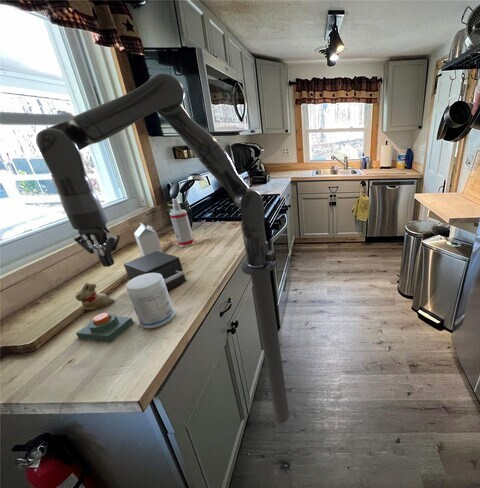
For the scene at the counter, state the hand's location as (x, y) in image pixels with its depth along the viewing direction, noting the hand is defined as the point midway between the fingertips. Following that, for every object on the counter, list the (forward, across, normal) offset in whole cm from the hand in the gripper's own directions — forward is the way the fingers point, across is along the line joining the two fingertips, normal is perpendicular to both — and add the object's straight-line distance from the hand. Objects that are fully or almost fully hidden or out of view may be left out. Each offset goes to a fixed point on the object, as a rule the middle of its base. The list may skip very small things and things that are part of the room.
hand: (109, 265), depth 77 cm
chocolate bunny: (+19, +17, -4) cm, 26 cm away
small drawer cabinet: (+19, +5, -19) cm, 27 cm away
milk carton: (+19, +21, -36) cm, 46 cm away
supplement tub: (+19, -10, +1) cm, 22 cm away
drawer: (+18, +1, -18) cm, 25 cm away
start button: (+15, +2, +7) cm, 17 cm away
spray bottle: (+20, +19, -58) cm, 64 cm away
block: (+19, +2, +7) cm, 20 cm away
